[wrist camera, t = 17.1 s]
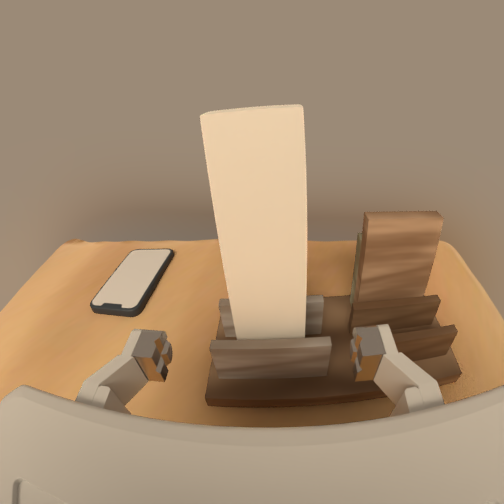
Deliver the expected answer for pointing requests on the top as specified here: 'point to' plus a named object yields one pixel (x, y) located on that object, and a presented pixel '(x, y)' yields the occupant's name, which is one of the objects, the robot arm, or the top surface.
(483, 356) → the top surface
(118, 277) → the smartphone
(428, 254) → the block
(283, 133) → the cream rectangular board
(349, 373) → the rack
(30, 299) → the top surface
